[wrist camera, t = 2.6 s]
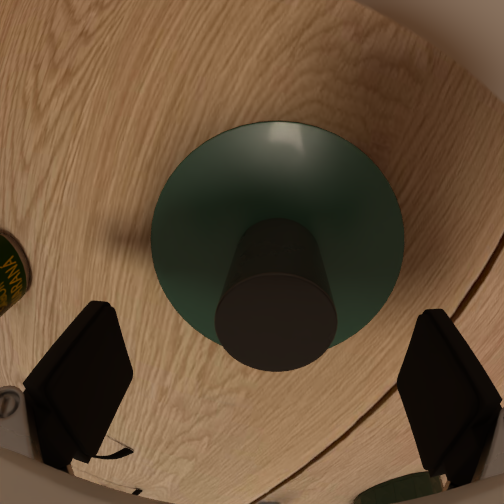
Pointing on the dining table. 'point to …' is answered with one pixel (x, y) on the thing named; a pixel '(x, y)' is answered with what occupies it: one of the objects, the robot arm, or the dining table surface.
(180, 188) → the lid
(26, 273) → the green soda can
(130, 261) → the dining table surface
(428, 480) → the canister
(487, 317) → the dining table surface
